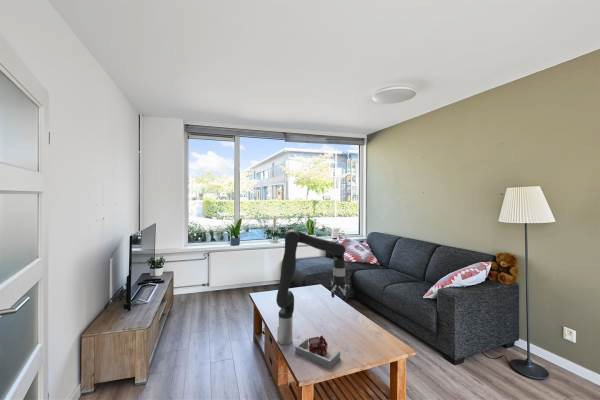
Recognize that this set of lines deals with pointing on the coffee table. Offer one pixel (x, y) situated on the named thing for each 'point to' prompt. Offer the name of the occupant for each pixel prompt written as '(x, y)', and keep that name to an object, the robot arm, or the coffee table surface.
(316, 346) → the toy fire truck
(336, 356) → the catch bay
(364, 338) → the coffee table surface
